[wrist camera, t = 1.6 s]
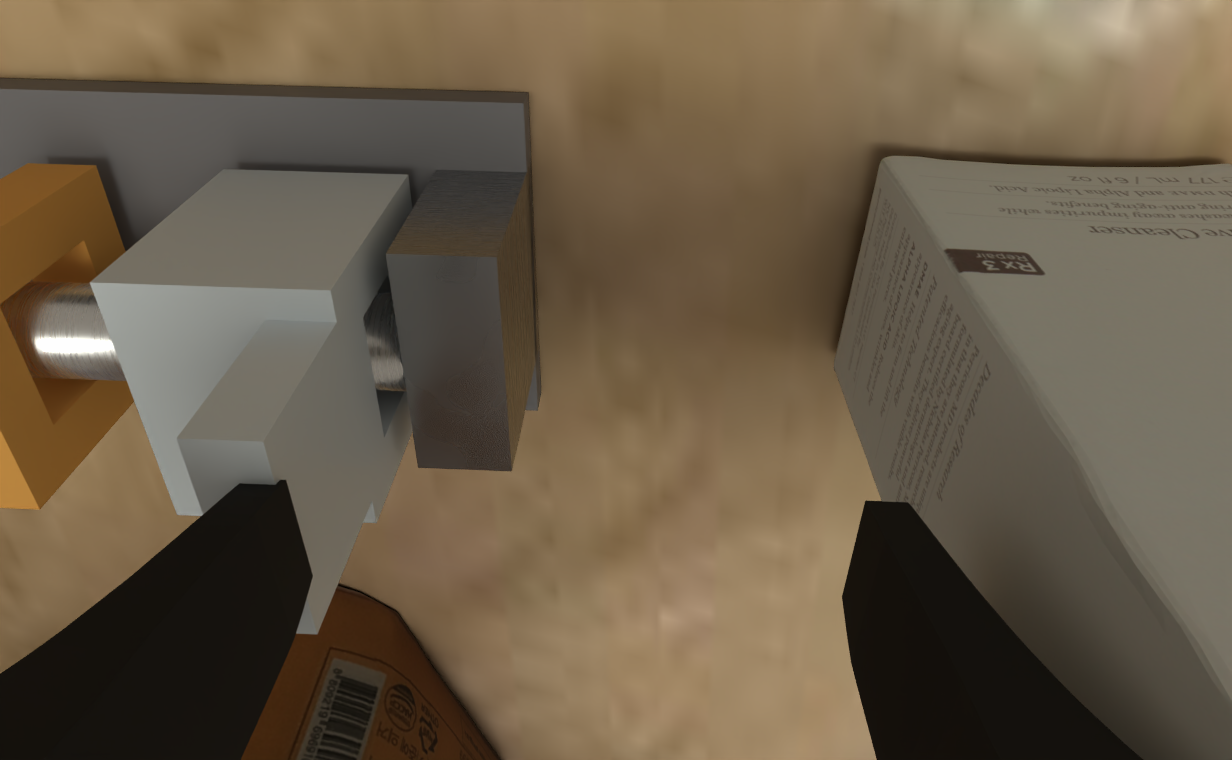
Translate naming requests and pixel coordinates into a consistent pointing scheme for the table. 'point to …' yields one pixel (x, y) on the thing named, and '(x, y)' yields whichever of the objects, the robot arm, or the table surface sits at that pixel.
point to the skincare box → (1064, 416)
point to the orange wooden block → (3, 387)
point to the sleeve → (267, 350)
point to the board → (255, 138)
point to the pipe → (388, 321)
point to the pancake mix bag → (362, 695)
